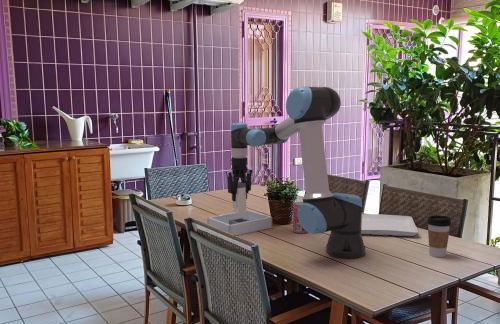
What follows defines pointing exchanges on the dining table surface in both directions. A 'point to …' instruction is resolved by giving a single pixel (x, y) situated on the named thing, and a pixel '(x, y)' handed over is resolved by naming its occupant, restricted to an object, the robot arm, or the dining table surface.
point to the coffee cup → (438, 235)
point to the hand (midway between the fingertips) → (239, 207)
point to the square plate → (388, 225)
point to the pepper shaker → (241, 198)
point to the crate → (241, 222)
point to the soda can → (296, 223)
